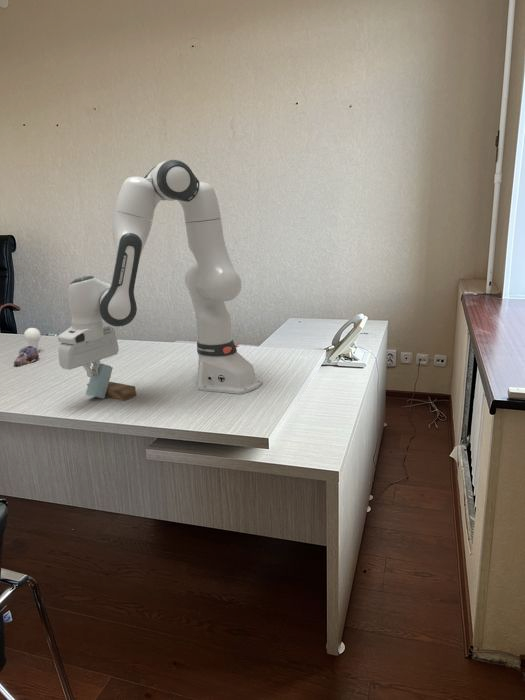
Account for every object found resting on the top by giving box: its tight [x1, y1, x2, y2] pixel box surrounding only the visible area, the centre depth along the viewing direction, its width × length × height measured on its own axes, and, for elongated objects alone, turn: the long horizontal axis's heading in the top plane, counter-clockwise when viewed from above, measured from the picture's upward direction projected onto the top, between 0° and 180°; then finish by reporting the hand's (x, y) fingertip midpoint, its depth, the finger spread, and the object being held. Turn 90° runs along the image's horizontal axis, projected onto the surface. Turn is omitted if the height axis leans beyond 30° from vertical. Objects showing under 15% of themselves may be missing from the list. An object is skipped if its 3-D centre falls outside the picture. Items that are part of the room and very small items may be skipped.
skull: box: [13, 345, 40, 367], centre depth 205 cm, size 12×8×6 cm, turn 164°
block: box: [85, 362, 114, 399], centre depth 164 cm, size 4×4×10 cm
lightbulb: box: [23, 327, 42, 352], centre depth 217 cm, size 6×6×11 cm
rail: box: [86, 380, 137, 402], centre depth 168 cm, size 16×5×3 cm, turn 59°
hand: (92, 375), depth 162 cm, fingers closed
